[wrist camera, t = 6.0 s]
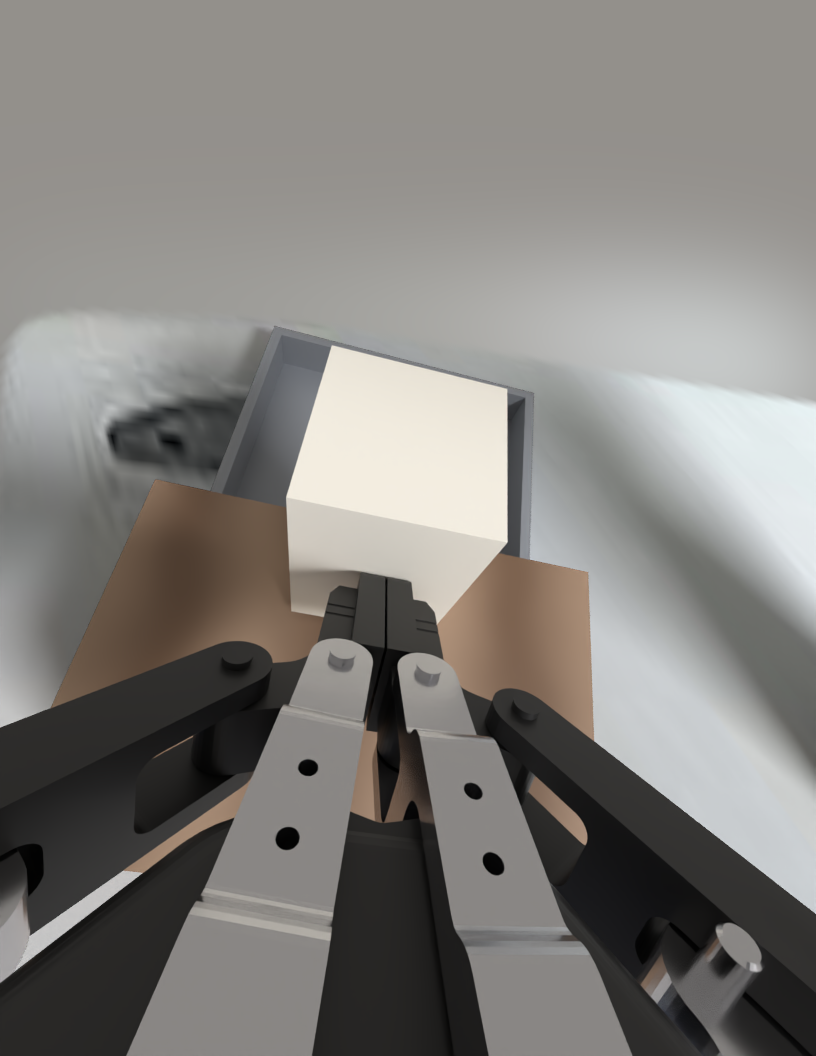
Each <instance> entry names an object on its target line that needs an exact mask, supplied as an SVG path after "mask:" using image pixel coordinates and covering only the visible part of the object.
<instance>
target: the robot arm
mask: <svg viewBox="0 0 816 1056" xmlns="http://www.w3.org/2000/svg"><path fill="white" fill-rule="evenodd" d="M436 624H437V621H436V616H435V612H434V611H433V610H432V608H431V607H430V606H429V605H428V604H427V602H425V601H419V600H414V599H413V591H412V583H411V582H408V581H403V580H398V579H392V578H386V581H385V577H382V576H377V575H372V574H366V573H360V577H359V581H358V586H357V589H356V588H351V587H345V586H340V585H339V586H338V587H337V588H335V589H334V590H333V591H332V592H330V594H329V598H328V602H327V606H326V610H325V614H324V618H323V622H322V626H321V630H320V634H319V638H318V642H317V644H315V645H314V646H313V647H312V649H311V651H310V654H309V655H308V656H306V657H304V658H302V659H299V660H296V661H291V662H278V663H273V660H272V657H271V655H270V654H269V652H268V651H267V650H266V649H264V648H263V647H261V646H259V645H257V644H254V643H250V642H245V641H228V642H223V643H220V644H216V645H214V646H211V647H209V648H206V649H203V650H201V651H198V652H196V653H193V654H190V655H188V656H185V657H183V658H180V659H177V660H175V661H172V662H170V663H167V664H164V665H162V666H159V667H157V668H154V669H151V670H149V671H146V672H144V673H141V674H138V675H136V676H133V677H131V678H128V679H125V680H123V681H120V682H118V683H115V684H112V685H110V686H107V687H105V688H102V689H99V690H97V691H94V692H92V693H89V694H86V695H84V696H81V697H79V698H76V699H73V700H71V701H68V702H66V703H63V704H60V705H58V706H55V707H53V708H50V709H47V710H45V711H42V712H40V713H37V714H35V715H32V716H29V717H27V718H24V719H22V720H19V721H16V722H14V723H11V724H9V725H6V726H3V727H1V728H0V1056H816V914H815V913H814V912H812V911H811V910H810V909H809V908H807V907H806V906H805V905H803V904H802V903H801V902H800V901H798V900H797V899H796V898H794V897H793V896H792V895H791V894H789V893H788V892H787V891H785V890H784V889H783V888H782V887H780V886H779V885H778V884H777V883H775V882H774V881H773V880H771V879H770V878H769V877H768V876H766V875H765V874H764V873H762V872H761V871H760V870H759V869H757V868H756V867H755V866H753V865H752V864H751V863H750V862H748V861H747V860H746V859H744V858H743V857H742V856H741V855H739V854H738V853H737V852H735V851H734V850H733V849H732V848H730V847H729V846H728V845H726V844H725V843H724V842H723V841H721V840H720V839H719V838H718V837H716V836H715V835H714V834H712V833H711V832H710V831H709V830H707V829H706V828H705V827H703V826H702V825H701V824H700V823H698V822H697V821H696V820H694V819H693V818H692V817H691V816H689V815H688V814H687V813H685V812H684V811H683V810H682V809H680V808H679V807H678V806H676V805H675V804H674V803H673V802H671V801H670V800H669V799H667V798H666V797H665V796H664V795H662V794H661V793H660V792H658V791H657V790H656V789H655V788H653V787H652V786H651V785H650V784H648V783H647V782H646V781H644V780H643V779H642V778H641V777H639V776H638V775H637V774H635V773H634V772H633V771H632V770H630V769H629V768H628V767H626V766H625V765H624V764H623V763H621V762H620V761H619V760H617V759H616V758H615V757H614V756H612V755H611V754H610V753H608V752H607V751H606V750H605V749H603V748H602V747H601V746H599V745H598V744H597V743H596V742H594V741H593V740H592V739H590V738H589V737H588V736H587V735H585V734H584V733H583V732H582V731H580V730H579V729H578V728H576V727H575V726H574V725H573V724H571V723H570V722H569V721H567V720H566V719H565V718H564V717H562V716H561V715H560V714H558V713H557V712H556V711H555V710H553V709H552V708H551V707H549V706H548V705H547V704H546V703H544V702H543V701H542V700H540V699H539V698H537V697H536V696H534V695H532V694H530V693H528V692H526V691H523V690H519V689H514V688H505V689H501V690H499V691H497V692H496V693H495V694H494V696H493V699H492V701H490V700H488V699H485V698H483V697H480V696H478V695H475V694H473V693H471V692H469V691H467V690H465V689H463V688H462V687H461V686H460V683H459V680H458V677H457V674H456V672H455V671H454V669H453V668H452V667H451V666H450V665H449V664H448V663H447V662H445V661H444V659H443V653H442V648H441V643H440V637H439V634H438V627H437V625H436ZM366 718H367V723H366V731H372V732H377V743H376V747H375V750H374V754H373V758H372V772H373V792H374V812H375V821H373V820H371V819H368V818H366V817H363V816H360V815H358V814H355V813H353V812H350V809H351V803H352V797H353V791H354V785H355V779H356V773H357V767H358V761H359V755H360V749H361V743H362V737H363V731H364V726H365V722H366ZM191 736H193V737H192V738H190V739H188V738H189V737H191ZM186 739H188V740H186ZM184 740H186V741H184ZM182 741H184V742H182ZM180 742H182V743H181V744H179V745H177V746H175V745H176V744H178V743H180ZM173 746H175V747H173ZM171 747H173V748H171ZM169 748H171V749H169ZM167 749H169V750H168V751H166V752H164V751H165V750H167ZM162 752H164V753H162ZM160 753H162V754H160ZM158 754H160V755H158ZM157 755H158V756H157ZM155 756H157V757H155ZM154 757H155V758H154ZM535 776H536V777H537V778H538V779H539V780H540V781H541V782H542V783H543V784H545V785H546V786H547V787H548V788H549V789H550V790H551V791H552V792H553V793H554V794H555V795H556V796H558V797H559V798H560V799H561V800H562V801H563V802H564V803H565V804H566V805H567V806H568V807H569V808H571V809H572V810H573V811H574V812H575V813H576V814H577V815H578V816H579V818H580V819H581V820H582V822H583V824H584V826H585V828H586V831H587V843H586V845H584V844H582V843H581V842H580V841H579V840H578V839H577V838H576V837H575V836H574V835H573V834H572V833H570V832H569V831H568V830H567V829H566V828H565V827H564V826H563V825H562V824H561V823H560V822H559V821H558V820H557V819H556V818H555V817H554V816H553V815H552V814H551V813H550V812H549V811H548V810H547V809H546V808H545V807H544V806H543V805H541V804H540V803H539V802H538V801H537V800H536V799H535V798H534V797H533V796H532V795H531V794H530V793H529V792H528V791H529V789H530V787H531V785H532V782H533V780H534V778H535ZM250 779H251V781H250V783H249V785H248V788H247V790H246V792H245V795H244V797H243V799H242V802H241V804H240V807H239V809H238V811H237V814H236V816H235V818H232V819H229V820H226V821H223V822H220V823H217V824H215V825H213V826H211V827H209V828H207V829H205V830H203V831H201V832H199V833H197V834H196V835H194V836H193V837H191V838H189V839H188V840H186V841H185V842H183V843H182V844H180V845H179V846H178V847H176V848H175V849H174V850H172V851H171V852H170V853H168V854H167V855H166V856H165V857H163V858H162V859H161V860H159V861H158V862H157V863H155V864H154V865H153V866H152V867H150V868H149V869H148V870H146V871H145V872H144V873H142V874H141V875H140V876H139V877H137V878H136V879H135V880H133V881H132V882H131V883H129V884H128V885H127V886H126V887H124V888H123V889H122V890H120V891H119V892H118V893H116V894H115V895H114V896H113V897H111V898H110V899H109V900H107V901H106V902H105V903H103V904H102V905H101V906H99V907H98V908H97V909H96V910H94V911H93V912H92V913H90V914H89V915H88V916H86V917H85V918H84V919H83V920H81V921H80V922H79V923H77V924H76V925H75V926H73V927H72V928H71V929H70V930H68V931H67V932H66V933H64V934H63V935H62V936H60V937H59V938H58V939H57V940H55V941H54V942H53V943H51V944H50V945H49V946H47V947H46V948H45V949H44V950H42V951H41V952H40V953H38V954H37V955H36V956H34V957H33V958H32V959H31V960H29V961H28V962H27V963H25V964H24V965H23V966H21V967H20V968H19V969H18V970H16V971H15V972H14V970H15V969H16V967H17V965H18V964H19V962H20V961H21V958H22V956H23V954H24V952H25V950H26V947H27V944H28V941H29V936H30V935H32V934H33V933H35V932H36V931H37V930H39V929H40V928H42V927H43V926H45V925H46V924H47V923H49V922H50V921H52V920H53V919H55V918H56V917H57V916H59V915H60V914H62V913H63V912H65V911H66V910H67V909H69V908H70V907H72V906H73V905H75V904H76V903H77V902H79V901H80V900H82V899H83V898H85V897H86V896H87V895H89V894H90V893H92V892H93V891H95V890H96V889H97V888H99V887H100V886H102V885H103V884H105V883H106V882H107V881H109V880H110V879H112V878H113V877H115V876H116V875H117V874H119V873H120V872H122V871H123V870H125V869H126V868H127V867H129V866H130V865H132V864H133V863H135V862H136V861H137V860H139V859H140V858H142V857H143V856H144V855H146V854H147V853H149V852H150V851H152V850H153V849H154V848H156V847H157V846H159V845H160V844H162V843H163V842H164V841H166V840H167V839H169V838H170V837H172V836H173V835H174V834H176V833H177V832H179V831H180V830H182V829H183V828H184V827H186V826H187V825H189V824H190V823H192V822H193V821H194V820H196V819H197V818H199V817H200V816H202V815H203V814H204V813H206V812H207V811H209V810H210V809H212V808H213V807H214V806H216V805H217V804H219V803H220V802H222V801H223V800H224V799H226V798H227V797H229V796H230V795H232V794H233V793H234V792H236V791H237V790H239V789H240V788H242V787H243V786H244V785H245V784H247V783H248V781H249V780H250ZM13 972H14V973H13Z"/></svg>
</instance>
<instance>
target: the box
mask: <svg viewBox="0 0 816 1056" xmlns="http://www.w3.org/2000/svg"><path fill="white" fill-rule="evenodd" d="M332 345H333V346H337V347H341V348H345V349H349V350H353V351H357V352H361V353H365V354H369V355H373V356H377V357H381V358H385V359H389V360H393V361H397V362H401V363H405V364H409V365H413V366H417V367H421V368H425V369H429V370H433V371H437V372H441V373H445V374H449V375H453V376H457V377H461V378H465V379H469V380H473V381H477V382H481V383H485V384H489V385H494V386H498V387H502V388H506V389H507V544H506V545H505V546H504V547H503V548H502V550H501V551H500V552H499V553H501V554H505V555H510V556H515V557H519V558H524V559H528V560H530V522H531V484H532V446H533V407H534V393H531V392H527V391H524V390H520V389H516V388H512V387H508V386H504V385H500V384H497V383H493V382H489V381H485V380H481V379H477V378H473V377H470V376H466V375H462V374H458V373H454V372H450V371H446V370H443V369H439V368H435V367H431V366H427V365H423V364H419V363H416V362H412V361H408V360H404V359H400V358H396V357H392V356H389V355H385V354H381V353H377V352H373V351H369V350H365V349H362V348H358V347H354V346H350V345H346V344H342V343H338V342H335V341H331V340H327V339H323V338H319V337H315V336H311V335H308V334H304V333H300V332H296V331H292V330H288V329H284V328H281V327H277V326H274V329H273V331H272V334H271V337H270V339H269V342H268V344H267V347H266V349H265V352H264V355H263V357H262V360H261V362H260V365H259V367H258V370H257V373H256V375H255V378H254V380H253V383H252V385H251V388H250V391H249V393H248V396H247V398H246V401H245V403H244V406H243V409H242V411H241V414H240V416H239V419H238V421H237V424H236V427H235V429H234V432H233V434H232V437H231V439H230V442H229V445H228V447H227V450H226V452H225V455H224V457H223V460H222V463H221V465H220V468H219V470H218V473H217V475H216V478H215V481H214V483H213V486H212V488H211V491H212V492H217V493H221V494H226V495H231V496H235V497H240V498H244V499H249V500H254V501H258V502H263V503H268V504H272V505H277V506H282V507H286V508H287V506H286V496H287V493H288V489H289V486H290V483H291V479H292V476H293V473H294V469H295V466H296V463H297V460H298V456H299V453H300V450H301V446H302V443H303V440H304V436H305V433H306V430H307V426H308V423H309V420H310V416H311V413H312V410H313V406H314V403H315V400H316V396H317V393H318V390H319V387H320V383H321V380H322V377H323V373H324V370H325V367H326V363H327V360H328V357H329V353H330V350H331V347H332Z"/></svg>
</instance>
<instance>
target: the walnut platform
mask: <svg viewBox="0 0 816 1056" xmlns="http://www.w3.org/2000/svg"><path fill="white" fill-rule="evenodd" d="M323 618H324V617H321V616H316V615H310V614H304V613H298V612H293V611H291V593H290V571H289V549H288V527H287V508H286V507H282V506H277V505H272V504H268V503H263V502H258V501H254V500H249V499H244V498H240V497H235V496H231V495H226V494H221V493H217V492H212V491H207V490H203V489H198V488H193V487H189V486H184V485H179V484H175V483H170V482H165V481H161V480H156V479H155V481H154V483H153V485H152V488H151V490H150V492H149V494H148V496H147V499H146V501H145V503H144V505H143V507H142V509H141V512H140V514H139V516H138V518H137V520H136V523H135V525H134V527H133V529H132V531H131V534H130V536H129V538H128V540H127V542H126V544H125V547H124V549H123V551H122V553H121V555H120V558H119V560H118V562H117V564H116V566H115V569H114V571H113V573H112V575H111V577H110V579H109V582H108V584H107V586H106V588H105V590H104V593H103V595H102V597H101V599H100V601H99V604H98V606H97V608H96V610H95V612H94V614H93V617H92V619H91V621H90V623H89V625H88V628H87V630H86V632H85V634H84V636H83V639H82V641H81V643H80V645H79V647H78V649H77V652H76V654H75V656H74V658H73V660H72V663H71V665H70V667H69V669H68V671H67V673H66V676H65V678H64V680H63V682H62V684H61V687H60V689H59V691H58V693H57V695H56V698H55V700H54V702H53V704H52V706H51V708H53V707H55V706H58V705H60V704H63V703H66V702H68V701H71V700H73V699H76V698H79V697H81V696H84V695H86V694H89V693H92V692H94V691H97V690H99V689H102V688H105V687H107V686H110V685H112V684H115V683H118V682H120V681H123V680H125V679H128V678H131V677H133V676H136V675H138V674H141V673H144V672H146V671H149V670H151V669H154V668H157V667H159V666H162V665H164V664H167V663H170V662H172V661H175V660H177V659H180V658H183V657H185V656H188V655H190V654H193V653H196V652H198V651H201V650H203V649H206V648H209V647H211V646H214V645H216V644H220V643H223V642H228V641H245V642H250V643H254V644H257V645H259V646H261V647H263V648H264V649H266V650H267V651H268V652H269V654H270V655H271V657H272V660H273V663H278V662H291V661H296V660H299V659H302V658H304V657H306V656H308V655H309V654H310V651H311V649H312V647H313V646H314V645H315V644H317V642H318V638H319V634H320V630H321V626H322V622H323ZM437 627H438V634H439V637H440V643H441V648H442V653H443V659H444V661H445V662H447V663H448V664H449V665H450V666H451V667H452V668H453V669H454V671H455V672H456V674H457V677H458V680H459V683H460V686H461V687H462V688H463V689H465V690H467V691H469V692H471V693H473V694H475V695H478V696H480V697H483V698H485V699H488V700H490V701H492V699H493V696H494V694H495V693H496V692H497V691H499V690H501V689H505V688H514V689H519V690H523V691H526V692H528V693H530V694H532V695H534V696H536V697H537V698H539V699H540V700H542V701H543V702H544V703H546V704H547V705H548V706H549V707H551V708H552V709H553V710H555V711H556V712H557V713H558V714H560V715H561V716H562V717H564V718H565V719H566V720H567V721H569V722H570V723H571V724H573V725H574V726H575V727H576V728H578V729H579V730H580V731H582V732H583V733H584V734H585V735H587V736H588V737H589V738H590V739H592V740H593V741H594V728H593V699H592V670H591V642H590V613H589V584H588V572H584V571H580V570H575V569H570V568H566V567H561V566H556V565H552V564H547V563H542V562H538V561H533V560H528V559H524V558H519V557H515V556H510V555H505V554H501V553H498V554H497V555H496V557H495V558H494V559H493V560H492V561H491V562H490V564H489V565H488V566H487V567H486V568H485V569H484V571H483V572H482V573H481V574H480V575H479V576H478V577H477V579H476V580H475V581H474V582H473V583H472V584H471V586H470V587H469V588H468V589H467V590H466V591H465V593H464V594H463V595H462V596H461V597H460V598H459V600H458V601H457V602H456V603H455V604H454V605H453V606H452V608H451V609H450V610H449V611H448V612H447V613H446V615H445V616H444V617H443V618H442V619H441V620H440V622H439V623H438V624H437ZM366 723H367V718H366V722H365V726H364V731H363V737H362V743H361V749H360V755H359V761H358V767H357V773H356V779H355V785H354V791H353V797H352V803H351V809H350V812H353V813H355V814H358V815H360V816H363V817H366V818H368V819H371V820H373V821H375V812H374V792H373V772H372V758H373V754H374V750H375V747H376V743H377V732H372V731H366ZM192 737H193V736H191V737H189V738H188V739H190V738H192ZM188 739H186V740H188ZM186 740H184V741H186ZM184 741H182V742H184ZM182 742H180V743H178V744H176V745H175V746H177V745H179V744H181V743H182ZM175 746H173V747H175ZM173 747H171V748H173ZM171 748H169V749H171ZM169 749H167V750H165V751H164V752H166V751H168V750H169ZM164 752H162V753H164ZM162 753H160V754H162ZM160 754H158V755H160ZM158 755H157V756H158ZM157 756H155V757H157ZM155 757H154V758H155ZM250 781H251V779H250V780H249V781H248V783H247V784H245V785H244V786H243V787H242V788H240V789H239V790H237V791H236V792H234V793H233V794H232V795H230V796H229V797H227V798H226V799H224V800H223V801H222V802H220V803H219V804H217V805H216V806H214V807H213V808H212V809H210V810H209V811H207V812H206V813H204V814H203V815H202V816H200V817H199V818H197V819H196V820H194V821H193V822H192V823H190V824H189V825H187V826H186V827H184V828H183V829H182V830H180V831H179V832H177V833H176V834H174V835H173V836H172V837H170V838H169V839H167V840H166V841H164V842H163V843H162V844H160V845H159V846H157V847H156V848H154V849H153V850H152V851H150V852H149V853H147V854H146V855H144V856H143V857H142V858H140V859H139V860H137V861H136V862H135V863H133V864H132V865H130V866H129V867H127V868H126V869H125V870H124V871H133V872H141V873H144V872H145V871H146V870H148V869H149V868H150V867H152V866H153V865H154V864H155V863H157V862H158V861H159V860H161V859H162V858H163V857H165V856H166V855H167V854H168V853H170V852H171V851H172V850H174V849H175V848H176V847H178V846H179V845H180V844H182V843H183V842H185V841H186V840H188V839H189V838H191V837H193V836H194V835H196V834H197V833H199V832H201V831H203V830H205V829H207V828H209V827H211V826H213V825H215V824H217V823H220V822H223V821H226V820H229V819H232V818H235V816H236V814H237V811H238V809H239V807H240V804H241V802H242V799H243V797H244V795H245V792H246V790H247V788H248V785H249V783H250ZM528 792H529V793H530V794H531V795H532V796H533V797H534V798H535V799H536V800H537V801H538V802H539V803H540V804H541V805H543V806H544V807H545V808H546V809H547V810H548V811H549V812H550V813H551V814H552V815H553V816H554V817H555V818H556V819H557V820H558V821H559V822H560V823H561V824H562V825H563V826H564V827H565V828H566V829H567V830H568V831H569V832H570V833H572V834H573V835H574V836H575V837H576V838H577V839H578V840H579V841H580V842H581V843H582V844H584V845H586V843H587V831H586V828H585V826H584V824H583V822H582V820H581V819H580V818H579V816H578V815H577V814H576V813H575V812H574V811H573V810H572V809H571V808H569V807H568V806H567V805H566V804H565V803H564V802H563V801H562V800H561V799H560V798H559V797H558V796H556V795H555V794H554V793H553V792H552V791H551V790H550V789H549V788H548V787H547V786H546V785H545V784H543V783H542V782H541V781H540V780H539V779H538V778H537V777H536V776H535V778H534V780H533V782H532V785H531V787H530V789H529V791H528Z"/></svg>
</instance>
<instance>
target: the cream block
mask: <svg viewBox="0 0 816 1056" xmlns="http://www.w3.org/2000/svg"><path fill="white" fill-rule="evenodd" d="M286 506H287V527H288V549H289V571H290V593H291V611H293V612H298V613H304V614H310V615H316V616H321V617H324V614H325V610H326V606H327V602H328V598H329V594H330V592H332V591H333V590H334V589H335V588H337V587H338V586H339V585H340V586H345V587H351V588H356V589H357V586H358V581H359V577H360V573H366V574H372V575H377V576H382V577H385V581H386V578H392V579H398V580H403V581H408V582H411V583H412V591H413V599H414V600H419V601H425V602H427V604H428V605H429V606H430V607H431V608H432V610H433V611H434V612H435V616H436V621H437V624H438V623H439V622H440V620H441V619H442V618H443V617H444V616H445V615H446V613H447V612H448V611H449V610H450V609H451V608H452V606H453V605H454V604H455V603H456V602H457V601H458V600H459V598H460V597H461V596H462V595H463V594H464V593H465V591H466V590H467V589H468V588H469V587H470V586H471V584H472V583H473V582H474V581H475V580H476V579H477V577H478V576H479V575H480V574H481V573H482V572H483V571H484V569H485V568H486V567H487V566H488V565H489V564H490V562H491V561H492V560H493V559H494V558H495V557H496V555H497V554H498V553H499V552H500V551H501V550H502V548H503V547H504V546H505V545H506V544H507V389H506V388H502V387H498V386H494V385H489V384H485V383H481V382H477V381H473V380H469V379H465V378H461V377H457V376H453V375H449V374H445V373H441V372H437V371H433V370H429V369H425V368H421V367H417V366H413V365H409V364H405V363H401V362H397V361H393V360H389V359H385V358H381V357H377V356H373V355H369V354H365V353H361V352H357V351H353V350H349V349H345V348H341V347H337V346H333V345H332V347H331V350H330V353H329V357H328V360H327V363H326V367H325V370H324V373H323V377H322V380H321V383H320V387H319V390H318V393H317V396H316V400H315V403H314V406H313V410H312V413H311V416H310V420H309V423H308V426H307V430H306V433H305V436H304V440H303V443H302V446H301V450H300V453H299V456H298V460H297V463H296V466H295V469H294V473H293V476H292V479H291V483H290V486H289V489H288V493H287V496H286ZM437 624H436V625H437Z"/></svg>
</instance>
